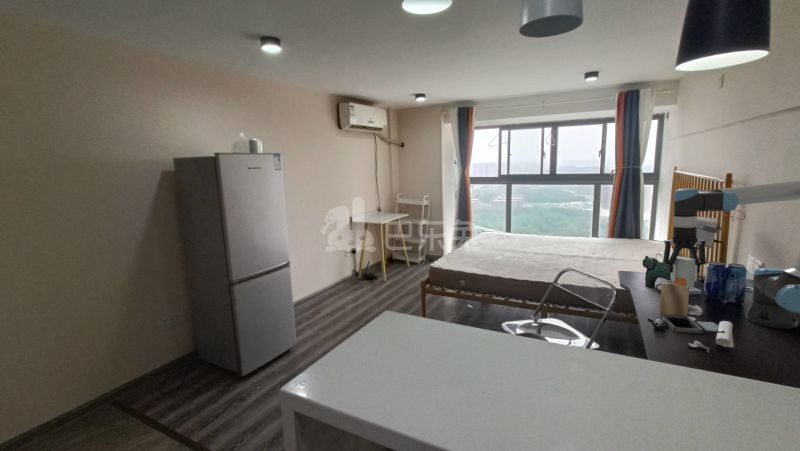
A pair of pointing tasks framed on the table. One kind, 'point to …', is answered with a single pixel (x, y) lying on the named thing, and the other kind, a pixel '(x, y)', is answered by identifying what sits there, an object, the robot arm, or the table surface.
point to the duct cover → (674, 299)
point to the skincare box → (684, 272)
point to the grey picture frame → (676, 329)
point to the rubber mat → (708, 326)
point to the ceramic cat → (655, 271)
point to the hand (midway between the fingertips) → (683, 279)
